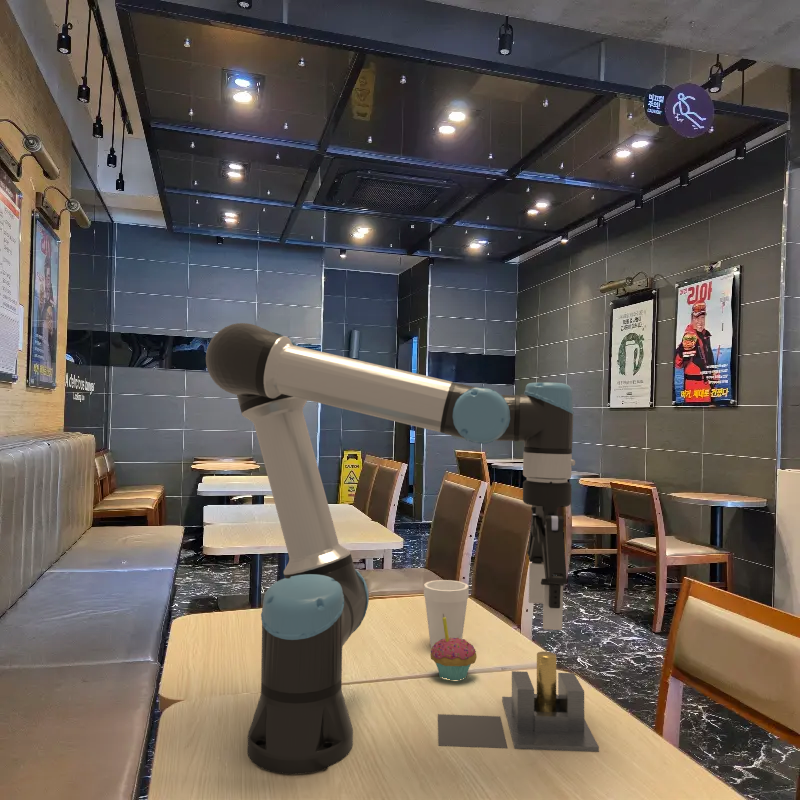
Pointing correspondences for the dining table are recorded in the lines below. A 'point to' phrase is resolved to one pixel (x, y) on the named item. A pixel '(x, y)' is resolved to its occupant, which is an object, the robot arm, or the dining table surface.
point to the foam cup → (445, 608)
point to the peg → (546, 682)
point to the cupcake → (453, 656)
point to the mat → (471, 731)
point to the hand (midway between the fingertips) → (544, 615)
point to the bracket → (548, 717)
